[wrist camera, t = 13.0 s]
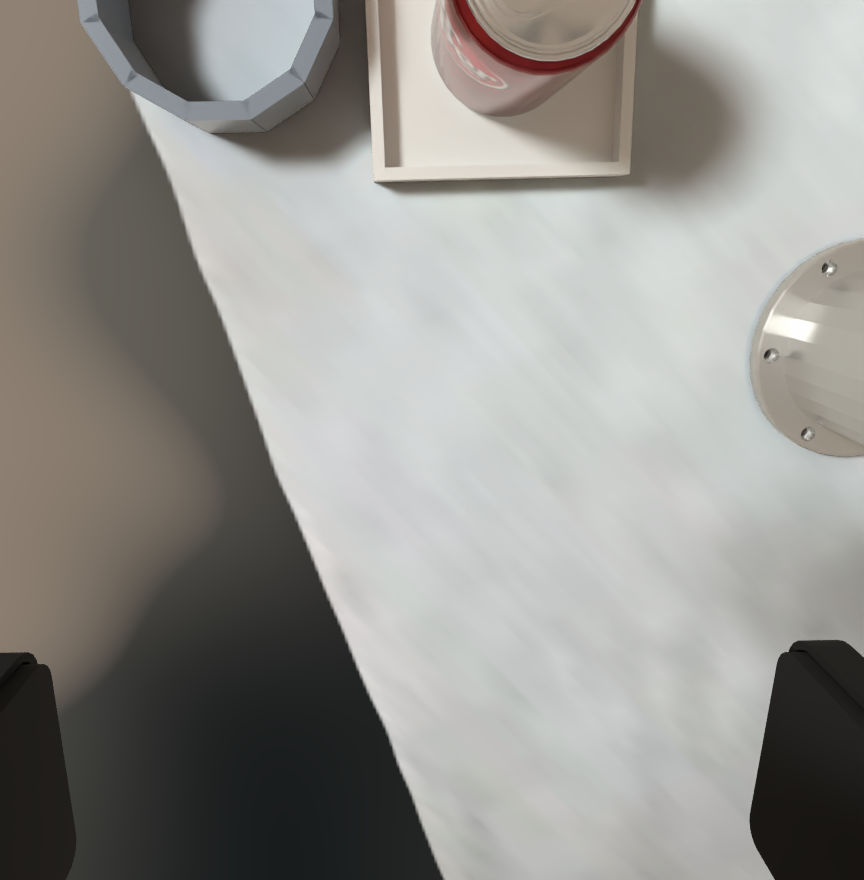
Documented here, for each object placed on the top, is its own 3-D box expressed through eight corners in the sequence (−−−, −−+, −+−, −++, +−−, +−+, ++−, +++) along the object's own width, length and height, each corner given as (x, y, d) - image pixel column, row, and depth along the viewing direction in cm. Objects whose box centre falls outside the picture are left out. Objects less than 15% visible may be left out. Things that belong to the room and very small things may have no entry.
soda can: (436, 125, 37) (456, 81, 25) (422, -36, 35) (437, -165, 23) (576, 112, 37) (658, 61, 26) (570, -50, 35) (658, -184, 24)
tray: (632, -112, 35) (644, -130, 33) (619, 176, 39) (629, 173, 37) (360, -110, 34) (358, -128, 33) (374, 182, 38) (373, 180, 36)
